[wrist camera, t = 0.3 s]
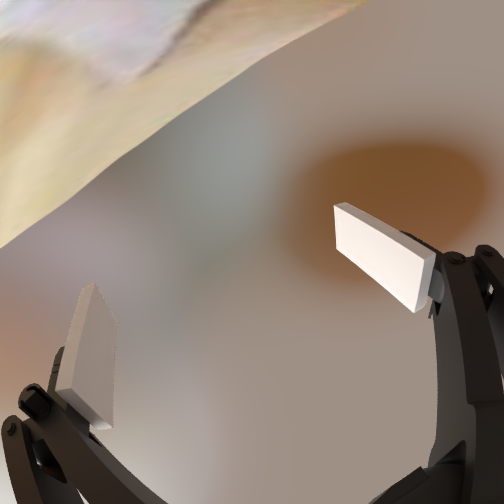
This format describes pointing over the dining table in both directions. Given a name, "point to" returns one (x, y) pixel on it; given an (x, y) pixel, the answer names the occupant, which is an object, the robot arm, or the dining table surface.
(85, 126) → the dining table surface
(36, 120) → the dining table surface
